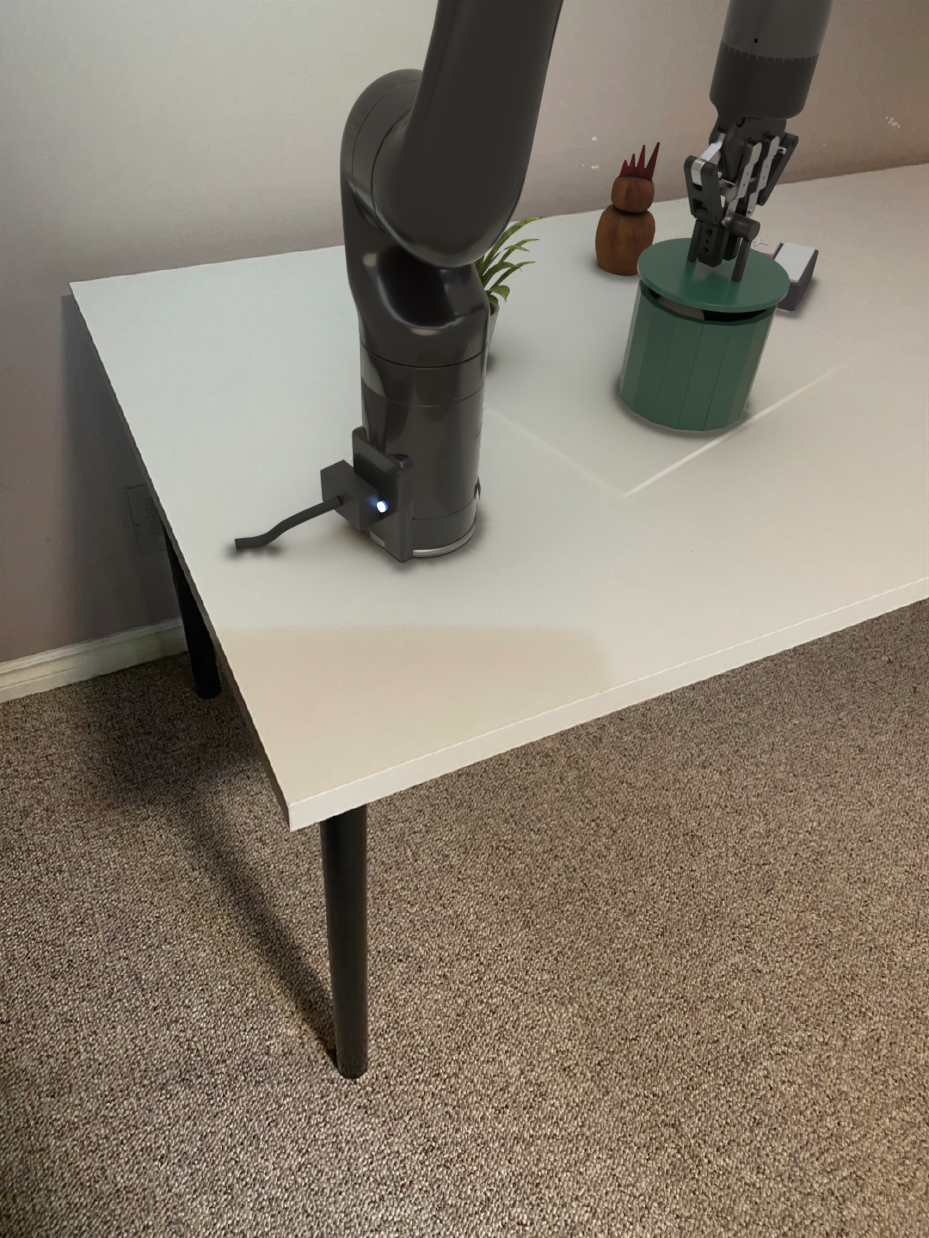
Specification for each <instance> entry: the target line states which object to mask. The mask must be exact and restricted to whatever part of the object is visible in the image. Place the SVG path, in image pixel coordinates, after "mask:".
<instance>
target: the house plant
mask: <svg viewBox="0 0 929 1238" xmlns="http://www.w3.org/2000/svg"><path fill="white" fill-rule="evenodd" d="M545 218H547V216H532V217H528V218H524V219H522V220H520V221H517V222H515V223H514V224H512V225H511V226H509V228H506V230H505V231H504V233H503V235H502V236H501V237H500V238H499V240H498V241H497V242H496V243H495V245H494V246H493V247H492V248H491V249H490V250H489V253H488V254H487V256H486V254H484V255H483V256H482V257H481V258H480V259H478V260H476V261H474V264H475V267H476V270H477V273H478V275H479V278H480V280H481V282H482V285H483V287H484V289H485V288H486V287H487V285H488V284H489V283H490V281H491V279H492V278H493V277H494V276H495V275H496V274H497V273H499V272H500V271H502V270H505V269H507V270H506V271H505V272H503V273H502V274H501V275H500V277H499V278H498V279H496V281H495V282H493V284H492V285H491V287H490V288H489V289H485V292H486V294H487V297H488V300H489V306H490V325H489V338H488V351H487V357H488V355H489V352H490V348H491V343H492V340H493V335H494V331H495V327H496V324H497V321H498V320H497V319H498V316H499V312H500V304H499V299H498V297H497V296H496V295H494V294H497V295H500V296H501V297H502V298H503V299H504V303H505V304H506V303H507V298H508V297H509V295H510V291H511V289H510V287H509V286H508V285H505V284H502V283H503V282H504V281H505V280H506V279H507V278H508V277H509V276H510V275H511V274H513V273H514V272H516V271H517V270H520V272H523V271H522V267H524V266H526V265H531V264H534V263H536V261H532V260H531V261H530V260H529V261H521V262H519V263H516V264H514V263H512V262H509V261H506V260H507V258H509V256H511V254H512V253H513V252H515V251H516V250H519V251H523V252H529V253H531V252H530V250H529V249H527V248H525V247H523V246H524V245H525V244H527V243H529V242H537V241H540V240H541V239H539V238H525V239H522V240H520V241H518V242H516V243H515V244H511V245H508V246H507V247H504V248H503V250H501V251H499V250H500V249H501V247H502V246H503V245H504V244H505V242H507V240H509V239H510V237H512V236H513V235H514V234H516V232H518V231H519V230H521V229H522V228H524V227H525V226H527V225H528V224H530V223H531V222H536V221H540V220H543V219H545ZM498 251H499V252H498ZM503 251H506V252H505V253H504V254H503V255H502V256H501V258H500V259H499V260H498V262H497V263H496V264H494V265H493V266H491V265H492V264H493V262H494V261H495V260H496V259H497V258H498V256H500V254H501V253H502V252H503ZM497 252H498V253H497ZM490 266H491V267H490ZM489 267H490V268H489ZM492 293H494V294H492Z"/></svg>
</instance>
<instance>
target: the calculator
mask: <svg viewBox="0 0 929 1238" xmlns="http://www.w3.org/2000/svg"><path fill="white" fill-rule="evenodd" d="M690 238H692V236H691V237H690ZM742 239H743V238H741V241H742ZM740 244H741V242H740ZM750 248H752V249H754V250H757V251H759V252H761V253H763V254H765V255H767V256H769V257H770V258H772V259H773V260H775V261H776V262H778V263H779V264H780V265H781V266H782V267H783V268H784V269H785V270H786V272H787V274H788V275H789V279H790V286H789V289H788V292H787V295H786V296H785V298H784V299H783V300H781V301H780V302H779V303H778V306H777V309H780V310H785V311H788V312H795V310H796V308H797V307H798V305H799V303H800V301H801V300H802V298H803V296H804V295H805V292H806V290H807V288H808V286H809V284H810V282H811V280H812V278H813V275H814V270H815V268H816V263H817V261H818V256H819V253H820V252H819V251H820V250H818V249H816V248H815V247H814V246H808V245H803V244H799V243H798V244H797V243H793V242H784V243H783V242H782V240H781V239H778V238H775V237H768V236H763V235H759V234H758V235H757V237H756V238H755V239H754V240H753V241H752V243H751V247H750Z"/></svg>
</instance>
